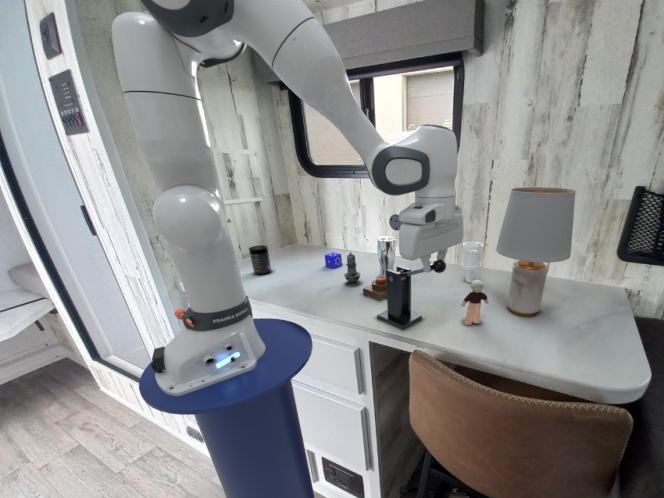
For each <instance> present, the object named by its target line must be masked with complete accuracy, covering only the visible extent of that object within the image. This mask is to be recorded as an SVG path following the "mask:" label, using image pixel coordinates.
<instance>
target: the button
mask: <svg viewBox="0 0 664 498" xmlns="http://www.w3.org/2000/svg"><path fill="white" fill-rule="evenodd" d="M375 279H376V283H377V284H386V283H387V277H384V276H380V275H379V276H377V277H375Z"/></svg>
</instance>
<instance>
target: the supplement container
mask: <svg viewBox="0 0 664 498" xmlns="http://www.w3.org/2000/svg"><path fill="white" fill-rule="evenodd" d="M248 253H249V256H250V261H251V264H252V265H251V266H252V270H253V273H254V274H255V275H256V276H265V275H269V274H271V273H272V270H273V269H272V265H271V259H270V255H269V248H268V246H267V245H262V244H261V245H259V244H258V245H253V246H250V247H248Z"/></svg>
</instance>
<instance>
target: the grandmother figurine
mask: <svg viewBox="0 0 664 498" xmlns="http://www.w3.org/2000/svg"><path fill="white" fill-rule="evenodd" d="M484 287H485V284H484V282H483V281H481V280H479V279H474V281H472V282H470V288H471V291H470V292H469V293H468V294H467V295H466V296H465V297H464V298H463V300H462V303H461V304H460V306H461V307H462V308H463V307H465V306H466V305H467V303H468V306H467V309H466V313H465V320H464V325H466V326H472V325H473V324H474V325H480V324H481V321H480V314H481V307H482V301H483V302H484V304H487V305H488V304H489V300H488V299H489V298H488V295H487V294H486V293H485V292H483V291H482V290H483V288H484Z"/></svg>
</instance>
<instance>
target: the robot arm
mask: <svg viewBox="0 0 664 498" xmlns="http://www.w3.org/2000/svg"><path fill="white" fill-rule="evenodd" d="M139 2H140V3H141V5H142V6H143V7H144V9H145V11H143V12H142V11H127V12H123V13H120V14H119V15H117V16H116V17H115V18H114V19H113V21H112V24H111V37H112V38H111V39H112V47H113V55H114V61H115V66H116V67H115V68H116V72H117V76H118V80H119V83H120V88H121V92H122V95H123V98H124V101H125V104H126V108H127V112H128V115H129V118H130V121H131V125H132V128H133V131H134V135H135V139H136V141H137V145H138V147H139V151H140V152H141V154H142V156H143V158H144V160H145V163H146V165H147V167H148V169H149V171H150V174H151V177H152V179H153V182H154V184H155V187H156V190H157V193H158V197H157V198H156V200H155V202H154V203H153V208H152V218H153V223H154V225H155V228H156V230H157V231H158V234H159V235H160V238H161V240H162V243H163V245H164V247H165V249H166V251H167V253H168V256H169V257H170V260H171V262H172V263H173V265H174V267H175V269H176V271H177V273H178V276H179V279H180V282H181V285H182V287H183V290H184V293H185V296H186V299H187V302H188V306H189V307H188V309H187V310H185V309H183V308H177V309H175V311H174V312H173V314H174V316H175V317H176V318H177V319H178V320H180V321H182V323H183V328H181V330H180V331H179V332H178V333H177V334H176V335H175V336H174V337H173V338H172V339H171V340H170V341H169V342H168V343H167V344H166V345H165V346H160V347H156V348H154V349H153V353H152V357H151V362H152V363H151V362H150V363H151V367H152V369H153V370H154V371H156V374H155V378H156V382H157V384H158V386H159V388H160V389H161V390H162V391H163V392H164V393H166V394H168V395H171V396H182V395H185V394H187V393H190V392H193V391H196V390H198V389H201V388H204V387H207V386H209V385H212V384H215V383H218V382H221V381H223V380H226V379H229V378H232V377H234V376H237V375H240V374H243V373H245V372H248V371H251V370H253V369H254V368H255V366H256V363H257V361H258V359H259V358H260V357H261V356H262V355H263V353H264V352H265V349H266V346H265V344H264V342H263V341H262V339H261V338H260V336H259V334H258V332H257V330H256V327H255V325H254V322H253V319H254V318H253V309H252V305H251V302H250V299H249V296H248V295H246V291H245V287H244V282H243V279H242V274H241V271H240V265H239V264H238V260H237V256H236V255H237V254H236V252H235V247H234V244H233V240H232V237H231V233H230V229H229V225H228V220H227V213H226V212H227V211H226V210H227V209H226V205H225V200H224V197H223V192H222V187H221V183H220V178H219V174H218V169H217V164H216V161H215V156H214V152H213V147H212V143H211V142H212V141H211V138H210V133H209V128H208V124H207V119H206V114H205V109H204V105H203V100H202V97H201V92H200V86H199V82H198V68H199V66H200V67H202V68H204V69H209V68H212V67H216V66H218V65H222V64H227V63H231V62H234V61H236V60H238V59H239V58H241V57H242V55H244V53H245V51H246V48H247V46H248V47H250V48H252V49H253V50H254V51H255V52H256V53H257V54H258V55H259V56H260V57H261V58H262V59H263V61H264V62H265V63H266V64H267V66H269V68H270V69H271V71H273V73H274V74H275V75H276V76H277V77H278V78H279V79H280V81H282V83H283V84H284V85H285V86H286V87H288V89H290V90H291V91H292V93H294V94H295V95H296V96H297V97H298V98H299V99H300V100H301V101H303V102H304V103H305V104H307V105H308V106H309V107H311V109H313V110H315V112H317V113H319V114H320V115H321V116H323V118H325V119H326V120H328V121H329V122H330V123H331V124H332V125H333V126H334V127H336V129H337V130H338V131H339V132H340V134H342V136H343V137H344V139H346V141H347V142H348V143H349V145H351V147H352V148H353V149H354V150H355V152H356V153H357V154H358V155H359V157H360V158H361V160H362V161H363V163H364V165H365V169H366V172H367V176H368V179H369V180H370V182H371V184H372V185H373V186H374V188H376V189H377V190H379V191H380V192H382V193H383V194H384V195H386V196H387V195H388V196H391V197H400V196H403V195H406V194H411V193H414V200H413V201H412V202H411V203H409V205H408V206H406V207H405V208H403V209H401V211H399V213H398V220H399V222H400V223H401V224H400V226H399V230H398V251H399V255H400V257H401V258H402V259H404V260H407V261H412V262H413V261H417V260H420V261H421V264H422V268H423V271H424V272H423V273H431V272H433V271H434V270H433V263H431V260H430V259H432V255H433V254H435V253H437V254H436V258H435V259H434V260H433V262H434V261H436V260H438V259H441V260H443V261H444V262H445V258H446V256H447V253H448V248H451V247H454V246H457V245H459V244H462V242H463V239H464V217H463V215H462V210H461V208H460V207H459V205H458V204H456V202H457V192H456V185H455V184H456V183H455V182H456V179H457V175H458V141H457V136H456V134H455V132H454V131H453V130H452V129H451V128H448V127H446V126H442V125H439V124H429V123H427V124H422V125H421V124H420V125H419V126H418V127H417V128H416V129H415V130H414V131H413V132H411V133H410V134H408V135H406V136H405V137H403V138H401V139H399V140H397V141H395V142H393V143H391V144H390V143H389V142H388V141H386V140H385V139H384V137H382V136H381V134H380V133H379V131H378V130H377V129H376V127H375V126H374V124H373V123H372V122H371V121H370V119H369V118H368V116H367V115H366V114H365V112H364V111H363V110H362V108H361V107H360V105H359V104H358V102H357V99H356V98H355V96H354V93H353V91H352V88H351V84H350V81H349V78H348V74H347V71H346V67H345V64H344V62H343V60H342V58H341V55H340V54H339V52H338V49H337V48H336V46H335V43H334V42H333V41H332V39H331V37H330V36H329V34H328V33H327V31H326V29H325V28H324V26H322V24H321V23H320V21H319V20H318V18H317V17H316V16H315V14H313V12H312V11H311V9H310V8H309V7H308V5H306V3H305V2H304V1H303V0H139Z"/></svg>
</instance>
